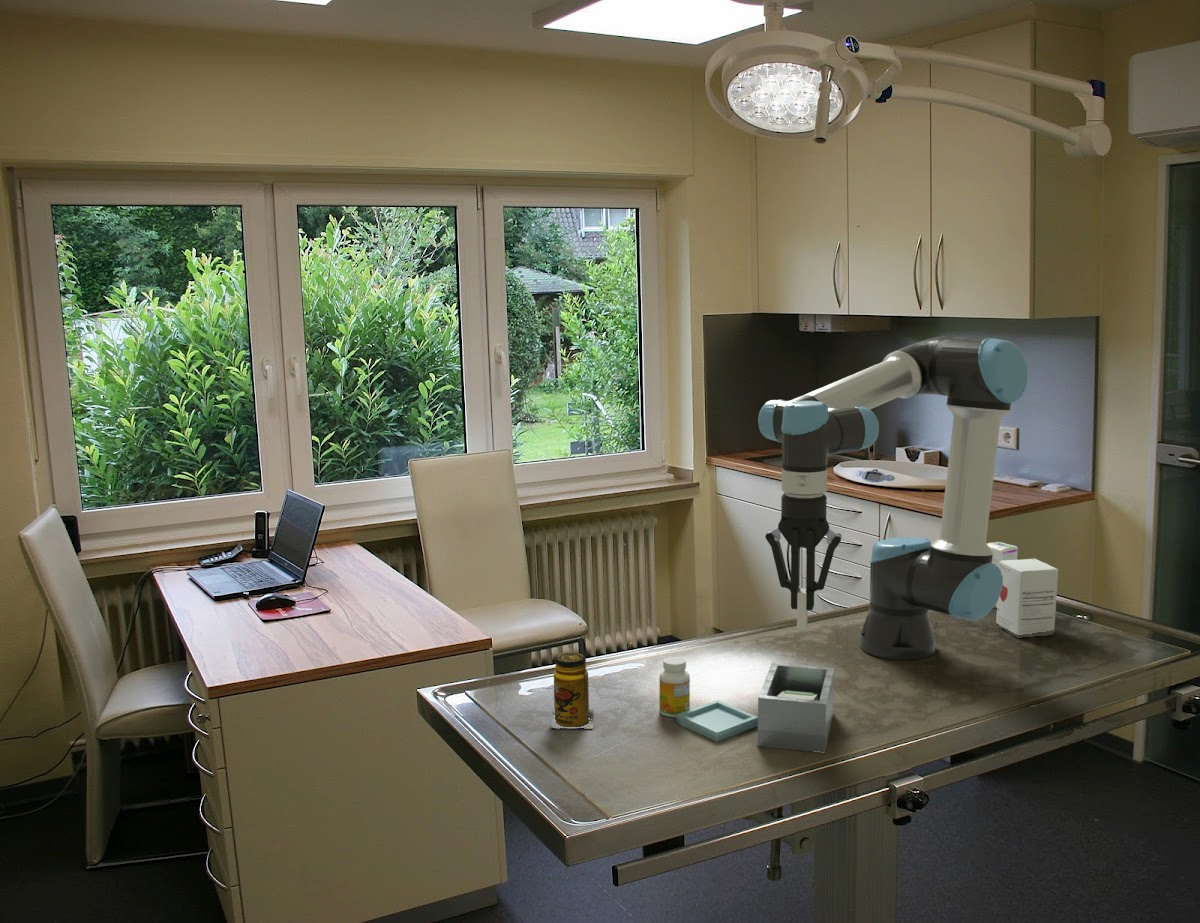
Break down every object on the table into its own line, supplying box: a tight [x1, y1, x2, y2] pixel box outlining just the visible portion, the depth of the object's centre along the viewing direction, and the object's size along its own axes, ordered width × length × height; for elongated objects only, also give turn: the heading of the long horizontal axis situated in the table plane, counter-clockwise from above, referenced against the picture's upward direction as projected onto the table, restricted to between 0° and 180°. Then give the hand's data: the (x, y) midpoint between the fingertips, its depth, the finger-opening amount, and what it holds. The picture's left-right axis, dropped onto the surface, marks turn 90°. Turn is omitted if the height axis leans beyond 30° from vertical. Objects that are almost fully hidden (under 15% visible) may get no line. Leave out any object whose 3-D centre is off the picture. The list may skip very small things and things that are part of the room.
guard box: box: [756, 661, 835, 753], centre depth 190 cm, size 17×11×8 cm, turn 164°
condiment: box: [553, 652, 595, 730], centre depth 194 cm, size 7×8×12 cm
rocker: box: [777, 690, 818, 701], centre depth 190 cm, size 10×7×2 cm
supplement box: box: [995, 558, 1059, 635], centre depth 239 cm, size 9×9×15 cm
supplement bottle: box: [658, 656, 691, 719], centre depth 198 cm, size 5×5×10 cm
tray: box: [675, 699, 758, 742], centre depth 193 cm, size 10×10×2 cm
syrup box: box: [986, 541, 1019, 607], centre depth 257 cm, size 6×6×14 cm
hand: (802, 627), depth 191 cm, fingers closed
